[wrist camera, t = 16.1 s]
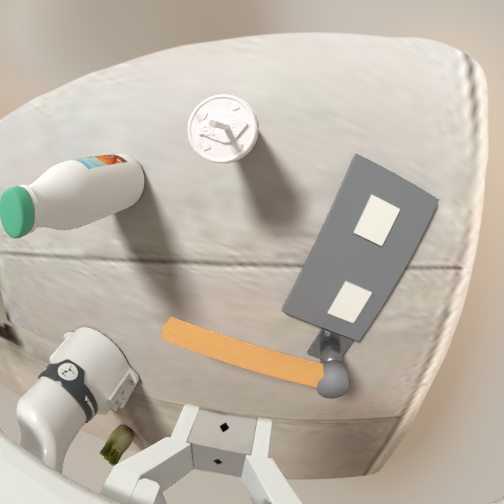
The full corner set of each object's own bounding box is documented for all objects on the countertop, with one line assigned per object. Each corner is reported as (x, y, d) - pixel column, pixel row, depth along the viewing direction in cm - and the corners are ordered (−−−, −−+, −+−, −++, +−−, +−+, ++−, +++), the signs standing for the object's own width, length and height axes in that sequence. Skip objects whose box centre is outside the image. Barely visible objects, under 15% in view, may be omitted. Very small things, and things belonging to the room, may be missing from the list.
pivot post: (336, 361, 41) (338, 386, 36) (307, 351, 41) (306, 376, 36) (353, 337, 39) (357, 362, 34) (323, 326, 39) (324, 350, 34)
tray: (357, 336, 39) (359, 342, 38) (282, 307, 39) (281, 312, 38) (435, 198, 31) (440, 200, 29) (354, 153, 31) (357, 153, 30)
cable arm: (352, 363, 34) (354, 380, 31) (339, 384, 35) (340, 400, 32) (172, 309, 35) (161, 322, 32) (169, 333, 37) (159, 346, 34)
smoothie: (272, 157, 33) (252, 162, 20) (219, 162, 34) (169, 172, 21) (266, 105, 31) (243, 76, 18) (214, 112, 32) (162, 93, 19)
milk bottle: (155, 170, 36) (39, 199, 17) (132, 217, 39) (26, 272, 20) (115, 144, 35) (-2, 156, 17) (96, 190, 38) (-13, 226, 20)
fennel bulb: (117, 420, 59) (96, 452, 48) (133, 426, 58) (113, 460, 47) (122, 431, 61) (103, 463, 50) (138, 438, 60) (119, 470, 49)
